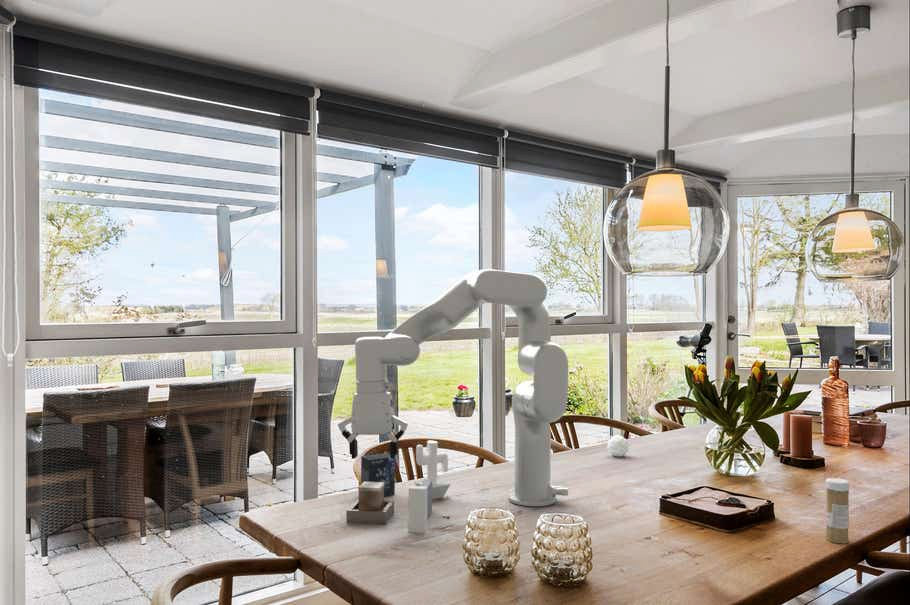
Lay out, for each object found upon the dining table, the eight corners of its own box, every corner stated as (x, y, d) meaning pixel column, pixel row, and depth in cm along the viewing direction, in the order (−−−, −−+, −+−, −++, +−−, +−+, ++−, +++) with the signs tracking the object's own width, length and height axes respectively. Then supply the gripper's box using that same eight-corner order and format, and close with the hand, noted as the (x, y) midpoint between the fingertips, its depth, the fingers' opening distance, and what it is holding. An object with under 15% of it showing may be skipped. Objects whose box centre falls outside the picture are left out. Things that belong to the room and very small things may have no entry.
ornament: (625, 459, 228) (610, 439, 229) (612, 462, 234) (598, 443, 235) (637, 446, 232) (622, 427, 232) (624, 450, 238) (610, 432, 239)
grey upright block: (436, 511, 170) (436, 471, 170) (425, 532, 154) (425, 488, 154) (420, 510, 171) (420, 471, 171) (408, 532, 155) (408, 488, 155)
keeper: (394, 512, 169) (394, 500, 169) (385, 524, 160) (385, 512, 160) (356, 511, 170) (357, 499, 170) (346, 523, 161) (346, 510, 161)
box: (369, 499, 181) (369, 459, 181) (360, 494, 185) (360, 455, 185) (395, 494, 185) (395, 456, 185) (385, 490, 190) (386, 452, 190)
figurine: (453, 497, 183) (454, 441, 183) (423, 502, 178) (423, 445, 178) (440, 490, 189) (440, 437, 189) (410, 495, 184) (410, 440, 184)
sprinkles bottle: (825, 536, 153) (825, 476, 153) (848, 539, 151) (848, 478, 151) (826, 542, 149) (826, 481, 149) (850, 545, 147) (850, 483, 147)
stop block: (384, 515, 167) (384, 482, 167) (379, 521, 162) (379, 488, 162) (363, 514, 168) (363, 481, 168) (358, 521, 163) (358, 487, 163)
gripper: (409, 385, 168) (411, 453, 168) (341, 385, 170) (343, 454, 170) (403, 389, 160) (405, 461, 161) (332, 390, 162) (335, 461, 163)
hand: (374, 457), depth 165 cm, fingers open, 9 cm apart
